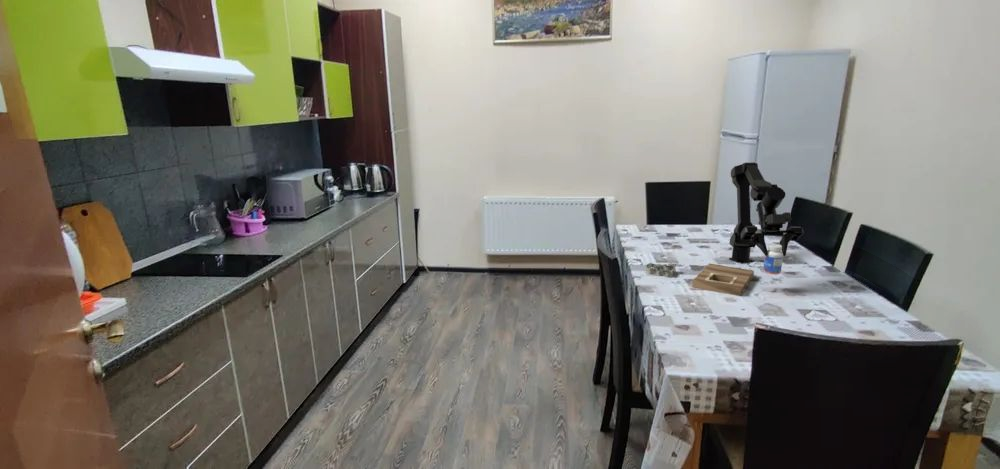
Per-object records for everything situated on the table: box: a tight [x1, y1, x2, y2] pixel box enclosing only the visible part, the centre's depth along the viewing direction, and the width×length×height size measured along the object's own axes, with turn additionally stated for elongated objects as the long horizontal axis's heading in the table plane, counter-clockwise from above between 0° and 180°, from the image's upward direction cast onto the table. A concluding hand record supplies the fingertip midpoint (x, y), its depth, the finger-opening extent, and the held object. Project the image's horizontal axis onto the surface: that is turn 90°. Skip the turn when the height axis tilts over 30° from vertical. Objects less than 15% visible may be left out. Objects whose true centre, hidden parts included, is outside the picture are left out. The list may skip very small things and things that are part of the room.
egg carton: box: [645, 262, 678, 278], centre depth 193 cm, size 11×8×4 cm
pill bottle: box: [762, 243, 784, 275], centre depth 171 cm, size 6×5×10 cm
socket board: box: [691, 263, 755, 297], centre depth 182 cm, size 22×16×3 cm
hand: (775, 255), depth 169 cm, fingers closed on pill bottle, 5 cm apart
